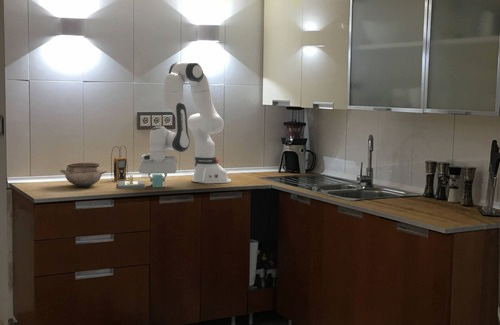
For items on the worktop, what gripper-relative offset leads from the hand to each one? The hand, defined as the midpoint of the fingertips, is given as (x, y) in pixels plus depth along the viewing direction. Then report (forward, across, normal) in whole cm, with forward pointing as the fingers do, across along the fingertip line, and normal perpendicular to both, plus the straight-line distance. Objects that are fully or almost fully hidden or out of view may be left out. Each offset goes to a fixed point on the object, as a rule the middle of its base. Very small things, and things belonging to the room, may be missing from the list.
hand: (157, 181), depth 370 cm
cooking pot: (+3, +39, +1) cm, 39 cm away
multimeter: (+3, +18, -18) cm, 25 cm away
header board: (+3, +14, 0) cm, 14 cm away
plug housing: (+3, 0, 0) cm, 3 cm away
